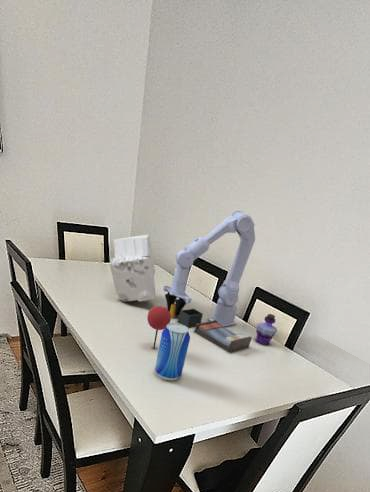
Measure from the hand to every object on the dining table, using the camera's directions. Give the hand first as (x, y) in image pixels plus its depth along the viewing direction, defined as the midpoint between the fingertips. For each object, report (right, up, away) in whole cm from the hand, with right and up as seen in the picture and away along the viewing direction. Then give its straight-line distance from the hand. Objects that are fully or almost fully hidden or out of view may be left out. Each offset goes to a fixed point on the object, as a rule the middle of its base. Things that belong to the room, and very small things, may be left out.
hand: (173, 313), depth 161 cm
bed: (+19, -13, -9) cm, 25 cm away
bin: (+7, -5, -2) cm, 8 cm away
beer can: (-1, -29, -42) cm, 51 cm away
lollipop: (-6, -19, -28) cm, 34 cm away
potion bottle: (+37, -13, -2) cm, 39 cm away
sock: (0, -1, +1) cm, 1 cm away
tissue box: (-20, +8, +8) cm, 23 cm away
